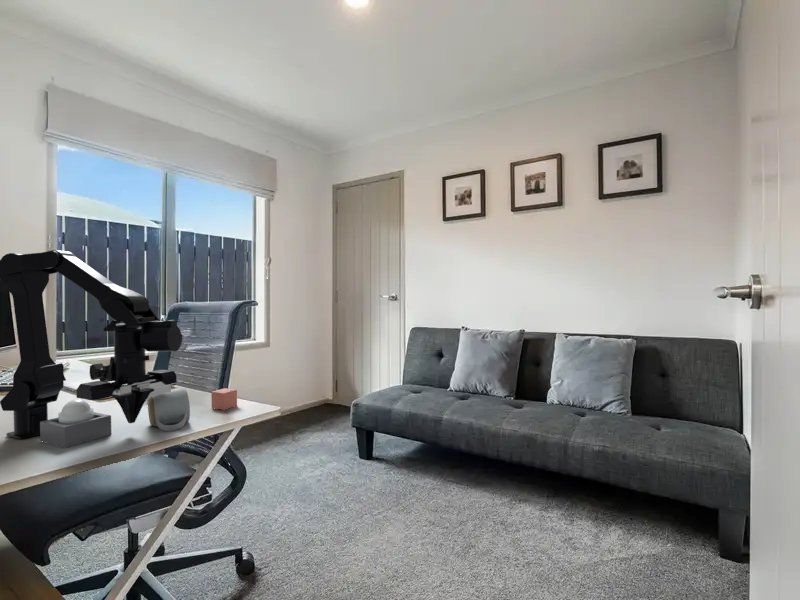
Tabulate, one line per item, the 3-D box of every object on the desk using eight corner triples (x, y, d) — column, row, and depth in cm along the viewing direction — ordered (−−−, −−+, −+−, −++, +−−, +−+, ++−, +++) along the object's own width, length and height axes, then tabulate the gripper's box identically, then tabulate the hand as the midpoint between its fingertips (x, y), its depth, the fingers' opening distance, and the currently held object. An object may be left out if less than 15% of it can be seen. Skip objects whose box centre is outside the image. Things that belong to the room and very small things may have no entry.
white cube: (146, 398, 128) (146, 377, 128) (169, 395, 131) (169, 375, 131) (147, 402, 123) (147, 381, 122) (171, 399, 126) (170, 378, 126)
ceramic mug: (147, 423, 102) (146, 391, 102) (184, 416, 107) (184, 386, 107) (153, 435, 94) (152, 400, 94) (194, 428, 99) (193, 395, 99)
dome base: (40, 441, 90) (40, 421, 90) (87, 429, 98) (86, 410, 98) (64, 448, 86) (64, 427, 86) (111, 434, 94) (111, 415, 94)
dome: (52, 425, 91) (51, 401, 90) (83, 417, 96) (83, 395, 96) (68, 428, 88) (68, 404, 88) (99, 420, 93) (99, 398, 93)
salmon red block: (211, 408, 115) (211, 391, 115) (225, 404, 119) (224, 387, 119) (223, 410, 113) (223, 392, 113) (237, 406, 117) (236, 389, 117)
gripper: (147, 345, 106) (148, 408, 106) (60, 355, 89) (62, 430, 89) (177, 347, 101) (179, 413, 101) (92, 358, 84) (93, 437, 84)
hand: (131, 422), depth 94 cm, fingers closed
